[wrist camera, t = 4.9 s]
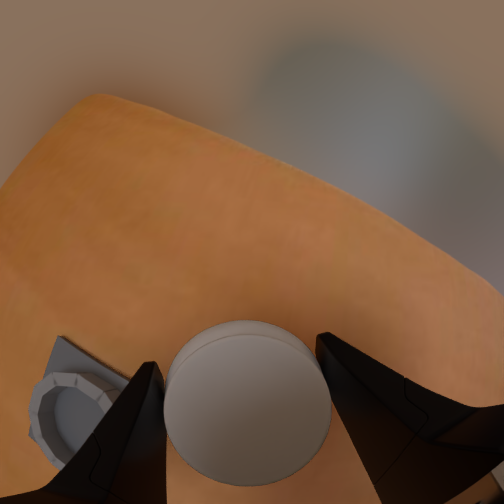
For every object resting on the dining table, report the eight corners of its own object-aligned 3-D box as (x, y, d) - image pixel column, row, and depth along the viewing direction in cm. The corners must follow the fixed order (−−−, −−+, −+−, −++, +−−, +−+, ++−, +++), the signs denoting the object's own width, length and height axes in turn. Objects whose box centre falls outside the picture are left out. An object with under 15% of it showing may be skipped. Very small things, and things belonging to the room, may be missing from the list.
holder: (175, 402, 18) (165, 410, 15) (134, 502, 14) (122, 518, 11) (62, 336, 19) (41, 332, 16) (33, 434, 15) (13, 439, 12)
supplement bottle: (285, 428, 14) (345, 504, 5) (190, 420, 14) (133, 491, 5) (293, 338, 16) (365, 310, 7) (198, 329, 16) (147, 291, 7)
